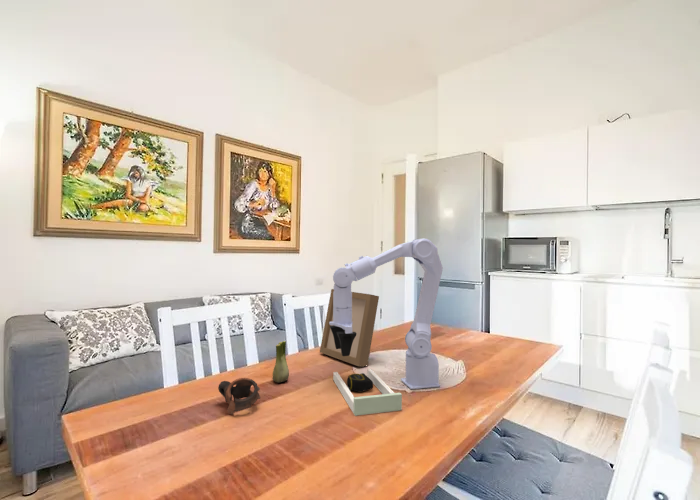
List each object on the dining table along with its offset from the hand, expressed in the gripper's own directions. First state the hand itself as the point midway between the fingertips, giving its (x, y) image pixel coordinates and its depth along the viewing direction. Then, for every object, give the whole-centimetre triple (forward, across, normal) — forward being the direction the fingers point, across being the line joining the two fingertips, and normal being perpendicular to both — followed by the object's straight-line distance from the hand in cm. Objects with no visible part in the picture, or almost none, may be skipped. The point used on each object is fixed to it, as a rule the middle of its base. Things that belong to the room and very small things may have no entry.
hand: (342, 352), depth 107 cm
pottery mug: (+10, +8, -30) cm, 32 cm away
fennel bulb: (+10, -7, -18) cm, 21 cm away
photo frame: (+10, -24, +10) cm, 28 cm away
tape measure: (+10, +5, +4) cm, 12 cm away
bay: (+10, +9, +4) cm, 14 cm away
